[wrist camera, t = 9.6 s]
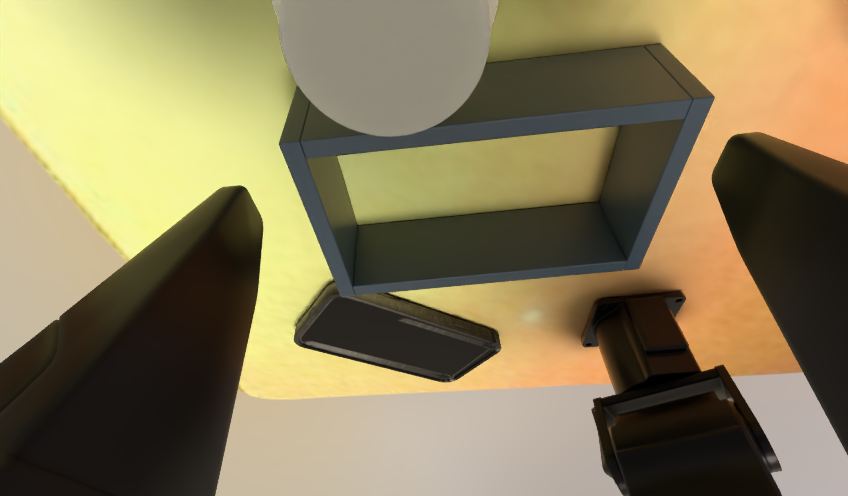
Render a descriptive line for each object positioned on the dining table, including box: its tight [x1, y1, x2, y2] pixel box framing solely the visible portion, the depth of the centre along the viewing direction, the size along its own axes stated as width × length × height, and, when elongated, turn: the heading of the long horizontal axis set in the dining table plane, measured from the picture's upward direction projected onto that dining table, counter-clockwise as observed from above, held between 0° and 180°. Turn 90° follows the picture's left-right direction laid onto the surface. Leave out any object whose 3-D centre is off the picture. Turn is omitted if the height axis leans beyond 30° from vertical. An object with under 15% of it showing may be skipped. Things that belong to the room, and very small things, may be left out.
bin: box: [279, 44, 715, 297], centre depth 20 cm, size 10×16×4 cm, turn 95°
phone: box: [294, 282, 501, 382], centre depth 33 cm, size 8×1×15 cm
